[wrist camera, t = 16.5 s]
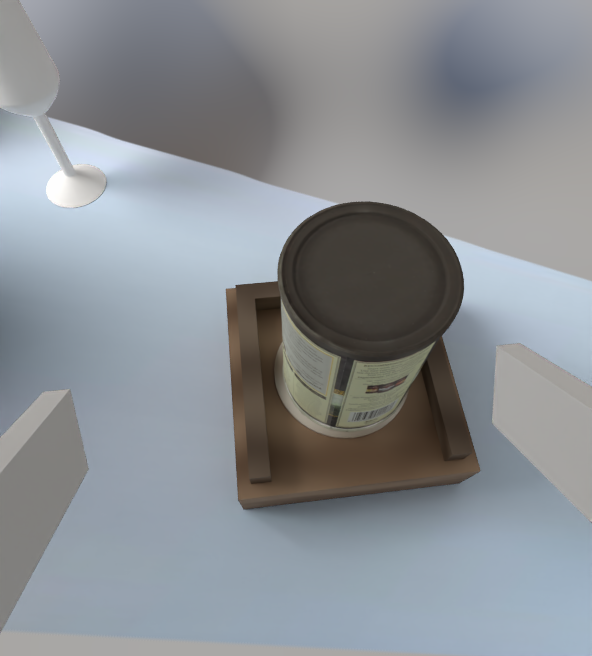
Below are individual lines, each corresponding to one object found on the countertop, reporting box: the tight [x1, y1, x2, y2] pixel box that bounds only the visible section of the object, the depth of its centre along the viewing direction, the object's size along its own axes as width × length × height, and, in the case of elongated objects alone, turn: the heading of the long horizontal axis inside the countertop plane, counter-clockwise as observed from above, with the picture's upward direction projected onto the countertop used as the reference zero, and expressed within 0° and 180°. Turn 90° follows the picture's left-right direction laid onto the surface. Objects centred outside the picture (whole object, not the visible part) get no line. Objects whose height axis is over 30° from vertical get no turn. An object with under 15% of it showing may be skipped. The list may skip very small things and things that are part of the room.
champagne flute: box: [0, 0, 106, 208], centre depth 45 cm, size 7×7×24 cm
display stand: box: [226, 281, 480, 509], centre depth 41 cm, size 18×18×7 cm
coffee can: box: [278, 202, 464, 432], centre depth 33 cm, size 10×10×14 cm
